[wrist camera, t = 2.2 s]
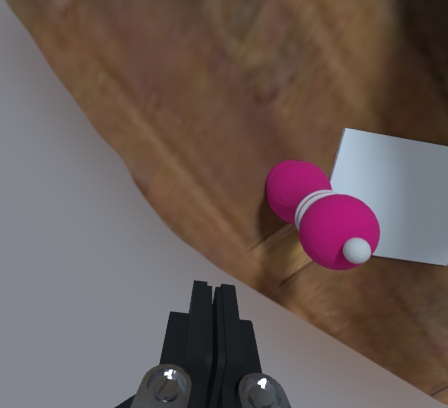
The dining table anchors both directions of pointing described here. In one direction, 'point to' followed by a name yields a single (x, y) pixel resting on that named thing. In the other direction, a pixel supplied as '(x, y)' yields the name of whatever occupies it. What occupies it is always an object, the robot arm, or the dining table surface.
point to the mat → (398, 191)
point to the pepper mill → (322, 215)
